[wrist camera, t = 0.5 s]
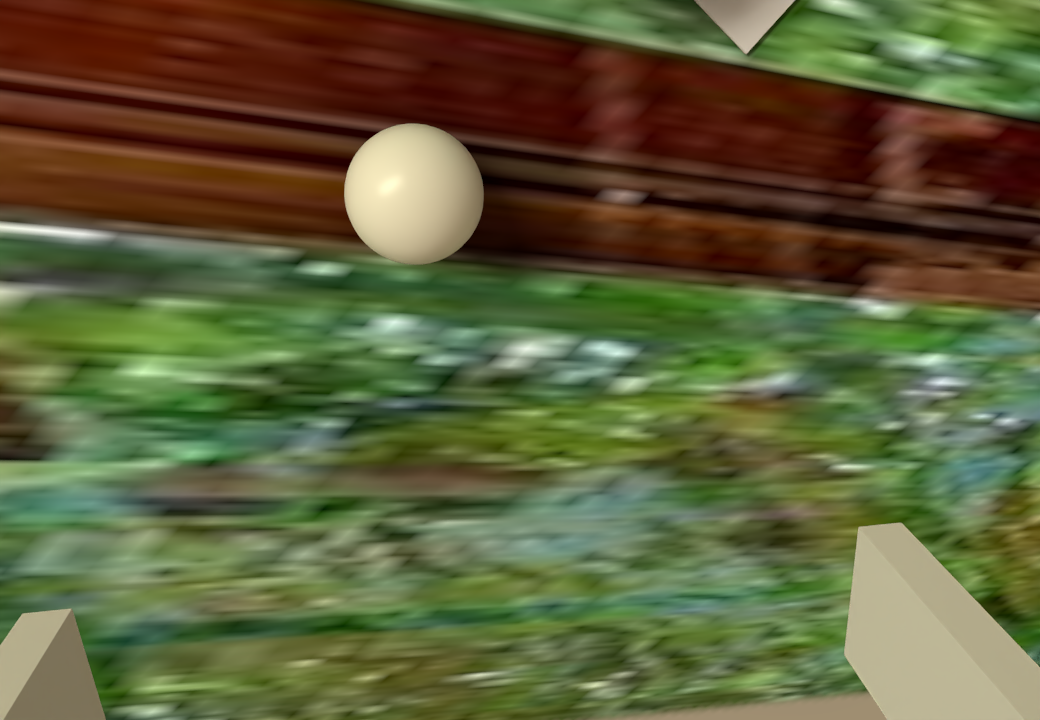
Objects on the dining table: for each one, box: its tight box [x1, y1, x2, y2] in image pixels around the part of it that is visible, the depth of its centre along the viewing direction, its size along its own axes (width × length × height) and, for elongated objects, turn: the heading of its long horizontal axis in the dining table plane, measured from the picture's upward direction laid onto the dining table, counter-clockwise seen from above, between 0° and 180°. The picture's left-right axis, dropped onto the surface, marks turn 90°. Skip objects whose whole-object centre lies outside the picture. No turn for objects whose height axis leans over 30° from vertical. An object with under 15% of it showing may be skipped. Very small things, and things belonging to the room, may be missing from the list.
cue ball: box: [344, 124, 484, 265], centre depth 34 cm, size 6×6×6 cm
